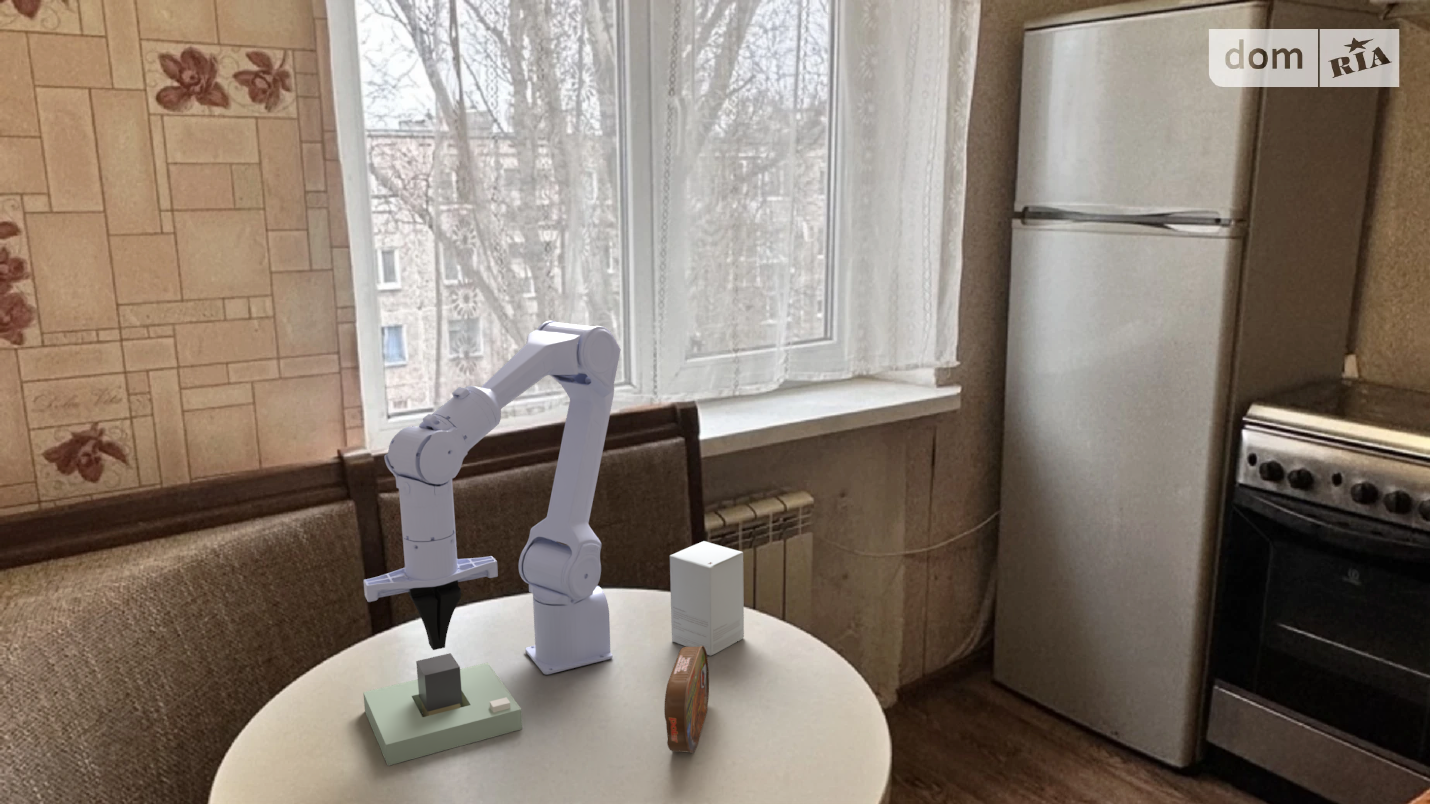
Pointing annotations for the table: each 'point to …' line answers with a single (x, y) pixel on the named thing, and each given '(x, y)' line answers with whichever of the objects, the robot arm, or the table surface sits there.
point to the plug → (439, 684)
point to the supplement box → (707, 596)
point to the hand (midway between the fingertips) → (437, 645)
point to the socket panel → (440, 716)
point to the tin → (687, 699)
